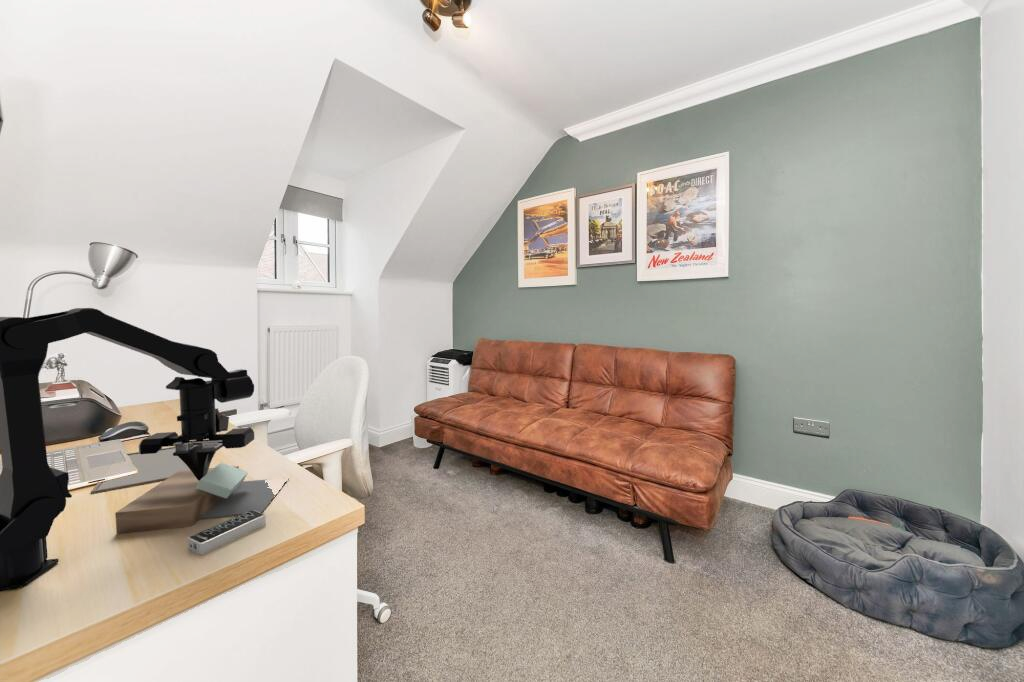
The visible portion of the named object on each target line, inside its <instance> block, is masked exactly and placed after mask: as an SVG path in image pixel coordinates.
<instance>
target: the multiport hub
mask: <svg viewBox="0 0 1024 682" xmlns="http://www.w3.org/2000/svg"><path fill="white" fill-rule="evenodd" d="M262 525H264V526H265V525H266V514H265V513H264V512H263V513H260V512H257V511H255V510H251V511H248V512H246V513H243V514H241V515H237V516H233V517H232V518H230V519H228V520H225V521H223V522H221V523H218V524H216V525H213V526H211V527H209V528H206V529H204V530H202V531H200V532H197V533H195V534H193V535H191V536H189V537H187V548H188V550H190V551H191V552H194V553H196V554H197V555H201V556H202V555H204V554H207V553H210V552H212V551H213V550H215V549H217V547H218V548H220V547H221V545H222V546H224V545H226V544H228V543H230V542H232V541H234V540H236V539H235V538H237V539H239V538H240V536H241V537H242V535H243V536H245V535H246V533H247V534H249V533H251V532H253V531H255V530H257V529H256V528H258V527H260V526H262ZM262 527H263V526H262ZM260 528H261V527H260ZM254 529H255V530H254ZM258 529H259V528H258ZM252 530H253V531H252ZM250 531H251V532H250ZM248 532H249V533H248ZM244 534H245V535H244ZM238 537H239V538H238ZM233 539H234V540H233ZM231 540H232V541H231ZM229 541H230V542H229ZM227 542H228V543H227ZM225 543H226V544H225ZM219 546H220V547H219Z"/></svg>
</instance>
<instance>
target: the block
mask: <svg viewBox="0 0 1024 682" xmlns="http://www.w3.org/2000/svg"><path fill="white" fill-rule="evenodd" d="M232 466H233V465H229V464H227V463H224V462H220V463H219V464H217V465H216V466H215V467H213V468H214V469H212V470H211V471H210V472H209V473H208V474H206V475H205V476H204V477H203V478H202V479H200V481H199V483H198V485H197V487H196V488H197V489H200V490H203V491H206V492H209V493H211V494H214V495H217V496H220V497H223V498H227V497H228V496H229V495H230V494H231V493H232V492H233V491H234V490H235V489H236V488H237V487H238V486H239V485H240V484H241V483H242V482H243V481H245V479H246V477H247V475H248V474H249V472H248V471H246V470H244V469H240V468H239V469H238V468H235V467H232Z"/></svg>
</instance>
